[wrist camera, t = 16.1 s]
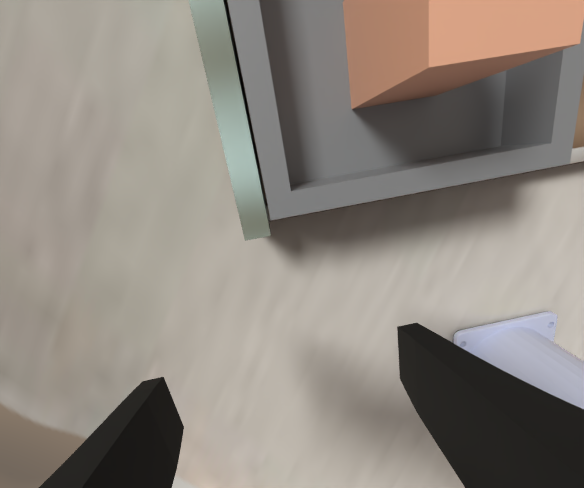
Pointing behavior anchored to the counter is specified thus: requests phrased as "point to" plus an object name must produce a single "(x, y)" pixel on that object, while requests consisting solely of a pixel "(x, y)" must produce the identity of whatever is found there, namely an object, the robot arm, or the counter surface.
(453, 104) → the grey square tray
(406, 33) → the block
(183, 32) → the counter surface
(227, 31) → the track
